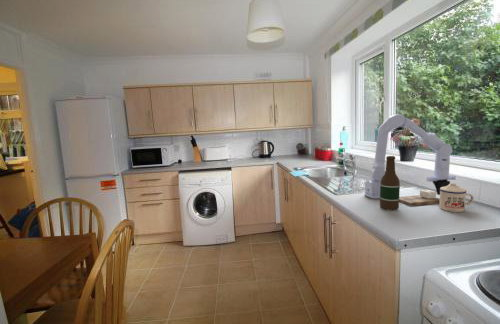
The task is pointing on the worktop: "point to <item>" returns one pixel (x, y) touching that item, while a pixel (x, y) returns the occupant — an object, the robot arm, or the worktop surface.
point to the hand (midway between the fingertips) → (440, 194)
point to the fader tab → (428, 194)
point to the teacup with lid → (453, 198)
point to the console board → (418, 200)
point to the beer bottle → (389, 187)
